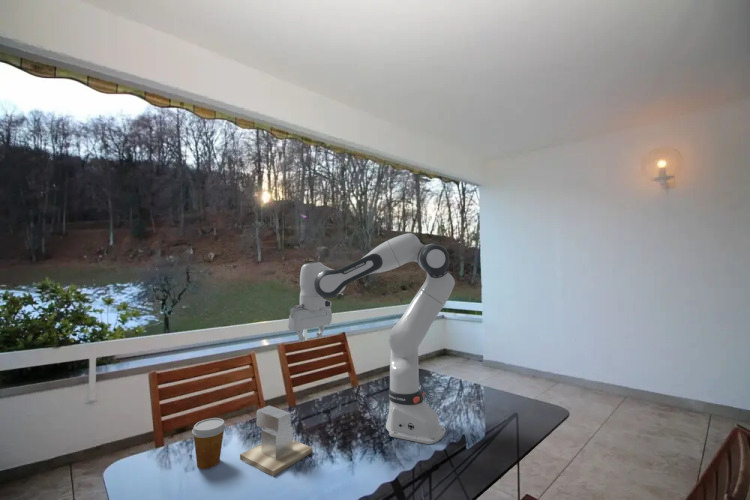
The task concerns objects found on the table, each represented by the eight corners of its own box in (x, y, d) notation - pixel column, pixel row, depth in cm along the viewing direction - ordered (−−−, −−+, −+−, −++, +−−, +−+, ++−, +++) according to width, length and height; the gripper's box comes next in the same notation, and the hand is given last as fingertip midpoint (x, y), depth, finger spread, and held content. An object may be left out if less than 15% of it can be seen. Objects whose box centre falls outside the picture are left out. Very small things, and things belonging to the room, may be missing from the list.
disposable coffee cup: (198, 455, 112) (199, 418, 113) (229, 454, 113) (230, 416, 114) (185, 473, 103) (186, 431, 103) (218, 471, 104) (219, 430, 104)
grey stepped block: (292, 449, 113) (293, 412, 114) (275, 459, 107) (276, 419, 108) (270, 440, 119) (271, 404, 120) (253, 448, 114) (254, 411, 114)
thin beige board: (312, 452, 114) (312, 432, 115) (273, 476, 101) (273, 453, 101) (279, 438, 123) (280, 420, 124) (239, 459, 110) (240, 438, 111)
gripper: (296, 306, 125) (296, 345, 124) (334, 301, 142) (334, 336, 141) (284, 305, 128) (284, 343, 128) (323, 301, 145) (322, 334, 145)
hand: (310, 339), depth 134 cm, fingers open, 8 cm apart
